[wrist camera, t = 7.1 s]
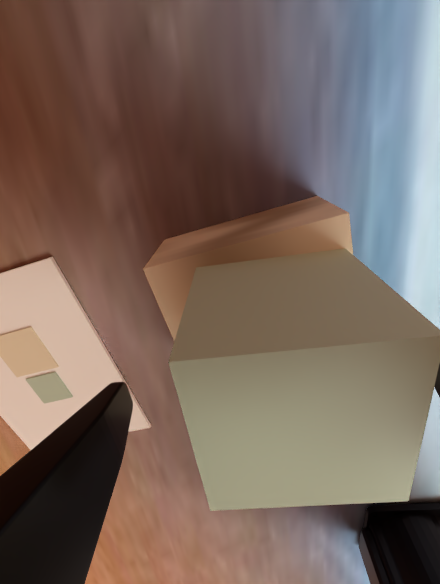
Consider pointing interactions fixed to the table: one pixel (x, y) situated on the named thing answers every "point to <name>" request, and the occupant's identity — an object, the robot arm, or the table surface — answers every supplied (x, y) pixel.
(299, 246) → the birch base block
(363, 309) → the sage cube
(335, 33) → the table surface
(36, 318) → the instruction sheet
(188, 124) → the table surface
